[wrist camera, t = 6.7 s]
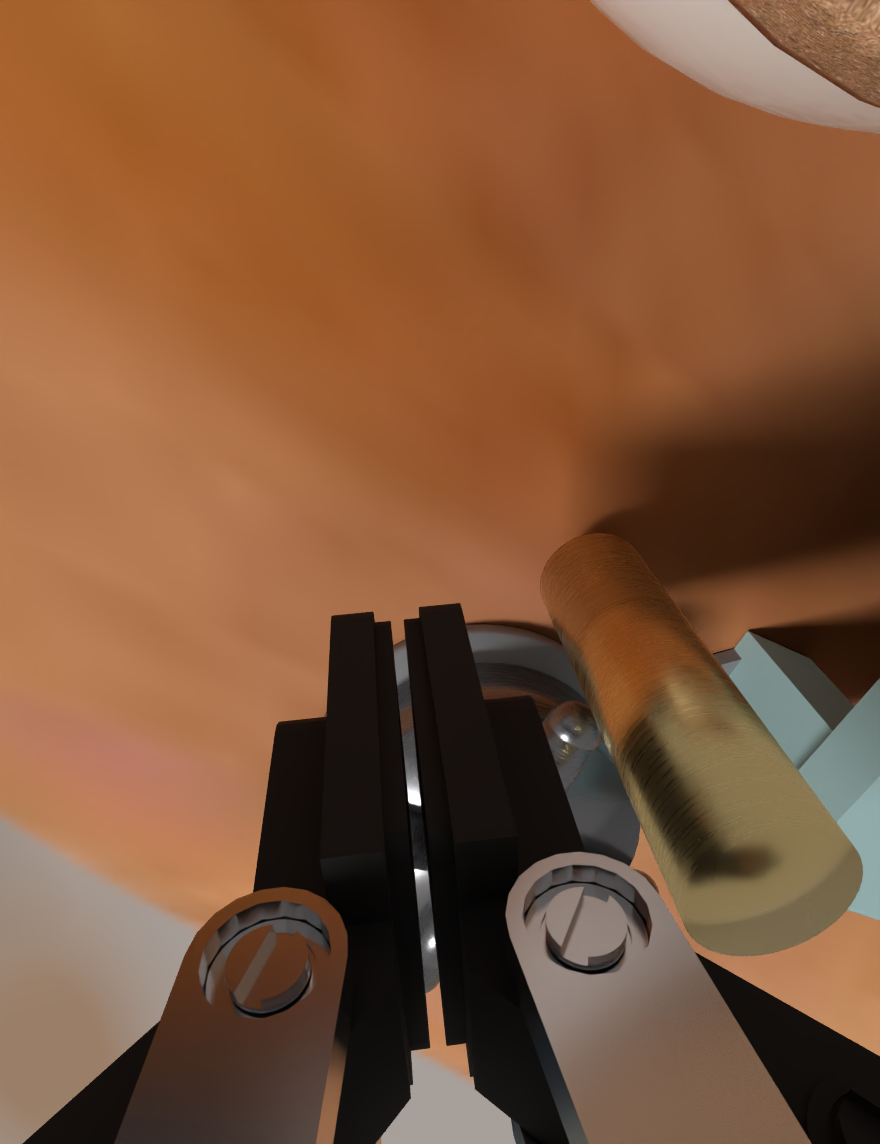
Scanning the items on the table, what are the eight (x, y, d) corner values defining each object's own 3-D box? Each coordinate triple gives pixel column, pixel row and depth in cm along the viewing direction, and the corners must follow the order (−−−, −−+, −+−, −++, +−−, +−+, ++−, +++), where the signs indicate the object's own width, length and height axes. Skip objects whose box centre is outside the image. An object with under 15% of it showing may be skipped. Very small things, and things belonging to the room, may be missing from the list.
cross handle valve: (432, 461, 13) (503, 729, 7) (779, 602, 15) (1079, 908, 9) (246, 857, 17) (183, 1264, 11) (544, 927, 19) (637, 1303, 13)
